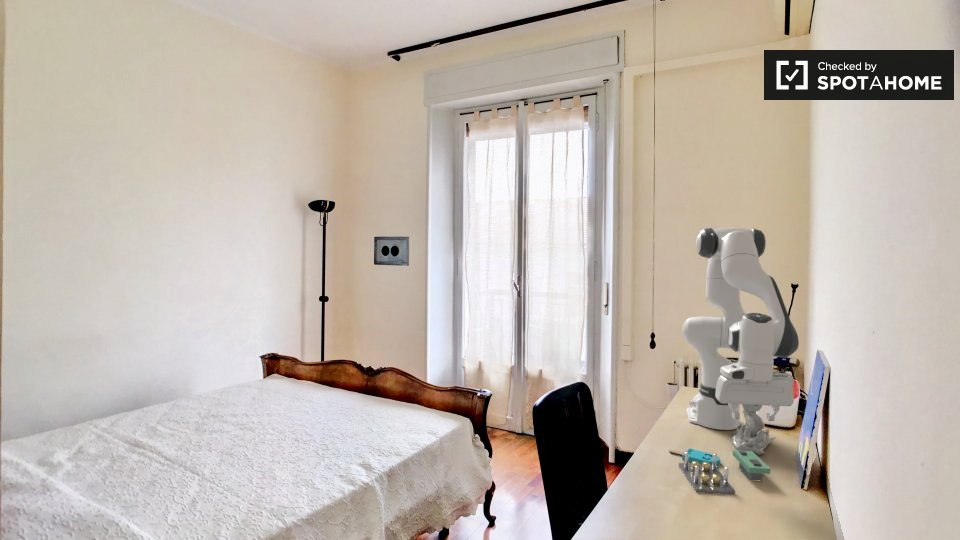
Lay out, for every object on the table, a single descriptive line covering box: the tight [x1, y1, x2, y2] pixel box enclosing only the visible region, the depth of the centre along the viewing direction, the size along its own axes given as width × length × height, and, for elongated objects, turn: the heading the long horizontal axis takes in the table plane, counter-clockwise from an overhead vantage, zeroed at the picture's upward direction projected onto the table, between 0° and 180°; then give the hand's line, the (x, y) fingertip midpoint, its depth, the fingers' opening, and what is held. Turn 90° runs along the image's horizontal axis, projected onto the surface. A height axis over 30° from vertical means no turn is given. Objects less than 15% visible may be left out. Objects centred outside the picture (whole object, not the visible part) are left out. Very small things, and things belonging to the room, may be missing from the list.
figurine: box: [732, 404, 776, 456], centre depth 170 cm, size 18×13×18 cm
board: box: [732, 449, 771, 475], centre depth 150 cm, size 12×6×2 cm, turn 175°
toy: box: [668, 448, 721, 467], centre depth 160 cm, size 7×2×15 cm
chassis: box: [678, 451, 736, 495], centre depth 146 cm, size 16×10×6 cm, turn 175°
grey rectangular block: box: [738, 461, 763, 482], centre depth 150 cm, size 8×3×3 cm, turn 175°
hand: (752, 419), depth 149 cm, fingers open, 8 cm apart
